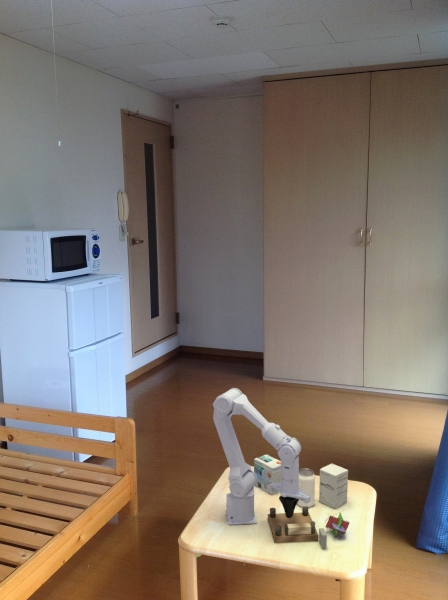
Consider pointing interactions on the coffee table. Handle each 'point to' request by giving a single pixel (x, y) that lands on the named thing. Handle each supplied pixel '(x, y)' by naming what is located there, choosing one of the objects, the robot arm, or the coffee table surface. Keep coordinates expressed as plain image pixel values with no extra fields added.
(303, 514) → the stool seat
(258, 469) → the light bulb box
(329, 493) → the supplement box
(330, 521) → the geometric puzzle
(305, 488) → the can
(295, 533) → the hinged leg
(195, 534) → the coffee table surface
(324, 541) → the block
